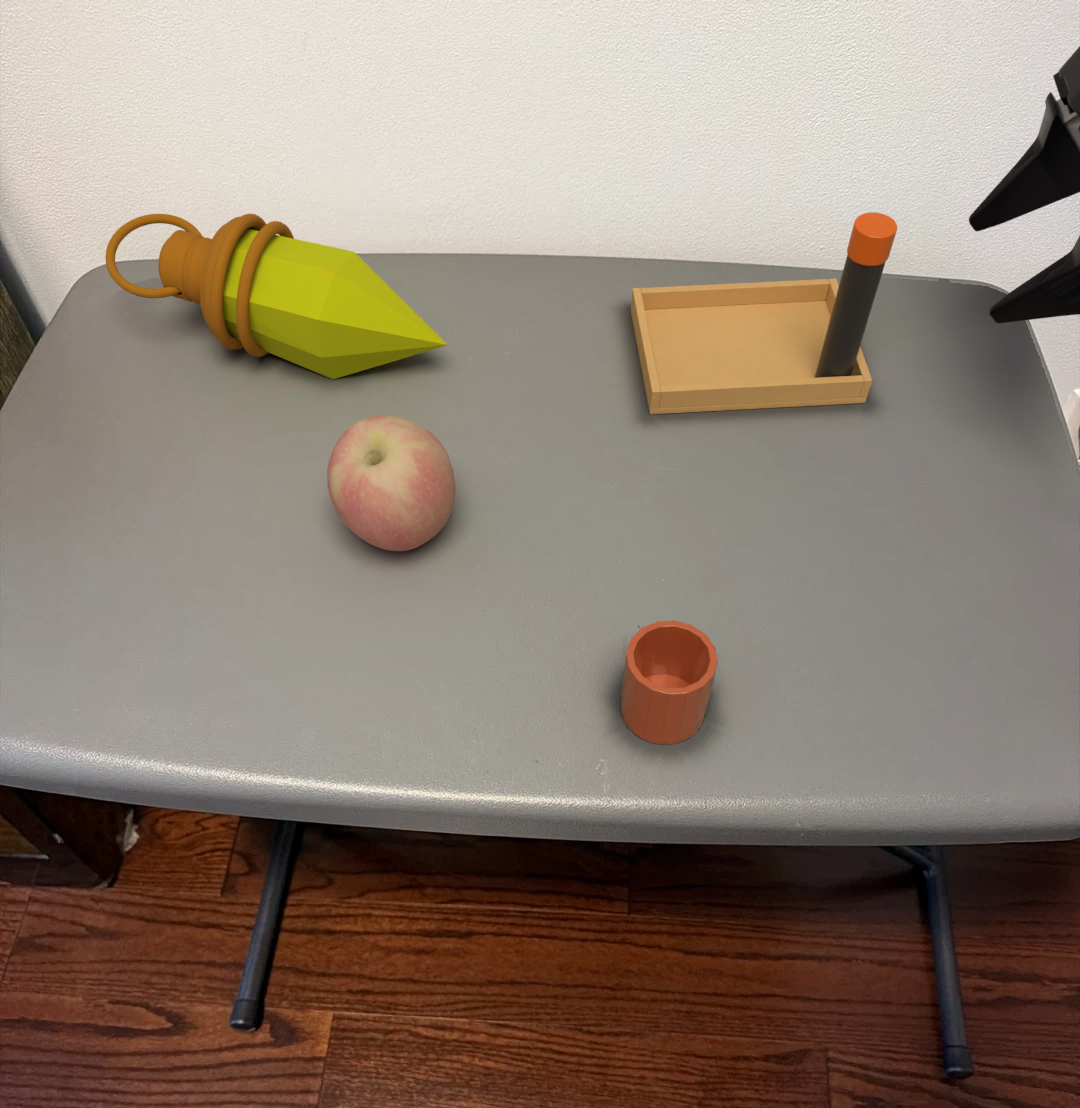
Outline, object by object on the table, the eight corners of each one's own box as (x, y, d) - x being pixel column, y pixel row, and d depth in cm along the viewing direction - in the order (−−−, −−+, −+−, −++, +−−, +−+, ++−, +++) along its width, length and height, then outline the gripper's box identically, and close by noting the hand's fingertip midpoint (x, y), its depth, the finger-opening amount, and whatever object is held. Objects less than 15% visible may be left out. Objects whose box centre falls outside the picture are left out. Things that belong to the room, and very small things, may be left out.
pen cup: (697, 672, 63) (709, 617, 59) (710, 741, 61) (723, 690, 56) (616, 677, 63) (622, 623, 59) (626, 747, 61) (632, 696, 56)
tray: (830, 301, 81) (836, 277, 80) (865, 403, 76) (872, 380, 74) (630, 311, 81) (632, 287, 79) (649, 414, 75) (652, 392, 73)
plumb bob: (469, 333, 80) (154, 239, 81) (468, 246, 72) (115, 142, 73) (429, 434, 78) (104, 336, 79) (423, 356, 69) (57, 247, 70)
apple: (329, 498, 71) (307, 403, 64) (443, 475, 72) (433, 379, 65) (352, 589, 67) (330, 498, 60) (472, 563, 68) (464, 471, 61)
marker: (845, 368, 77) (891, 210, 67) (853, 392, 75) (902, 236, 65) (809, 369, 77) (850, 212, 66) (817, 394, 75) (859, 238, 65)
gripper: (1164, -108, 58) (900, 93, 68) (1259, 75, 48) (934, 279, 58) (1234, 51, 65) (983, 214, 75) (1331, 241, 55) (1027, 400, 65)
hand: (981, 269), depth 68 cm, fingers open, 9 cm apart
